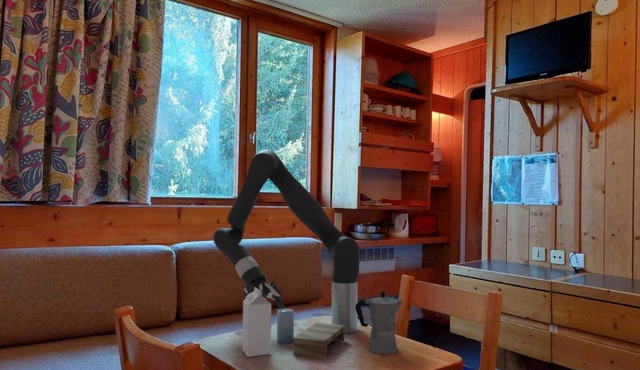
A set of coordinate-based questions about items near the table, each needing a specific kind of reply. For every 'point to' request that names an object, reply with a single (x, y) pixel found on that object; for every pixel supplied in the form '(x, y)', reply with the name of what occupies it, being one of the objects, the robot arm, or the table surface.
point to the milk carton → (256, 325)
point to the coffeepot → (380, 323)
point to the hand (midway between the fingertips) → (274, 309)
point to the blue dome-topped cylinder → (285, 326)
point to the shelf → (317, 339)
